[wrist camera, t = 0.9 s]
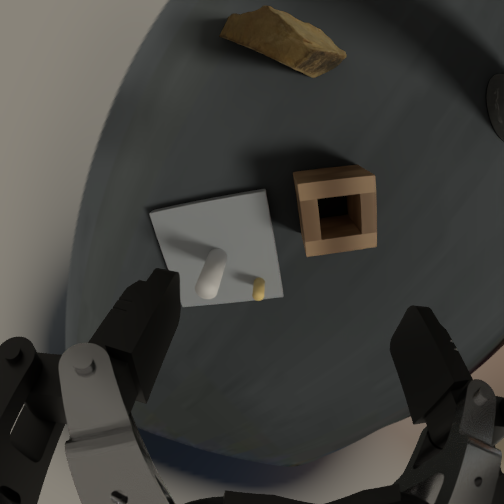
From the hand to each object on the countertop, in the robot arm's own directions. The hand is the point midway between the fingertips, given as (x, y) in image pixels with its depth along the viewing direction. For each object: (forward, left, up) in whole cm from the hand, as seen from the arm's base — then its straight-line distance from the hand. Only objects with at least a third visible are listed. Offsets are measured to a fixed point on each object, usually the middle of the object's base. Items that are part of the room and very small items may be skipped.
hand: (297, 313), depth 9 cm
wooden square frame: (-4, +3, -19) cm, 20 cm away
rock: (-2, -13, -19) cm, 24 cm away
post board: (+8, +7, -19) cm, 21 cm away
